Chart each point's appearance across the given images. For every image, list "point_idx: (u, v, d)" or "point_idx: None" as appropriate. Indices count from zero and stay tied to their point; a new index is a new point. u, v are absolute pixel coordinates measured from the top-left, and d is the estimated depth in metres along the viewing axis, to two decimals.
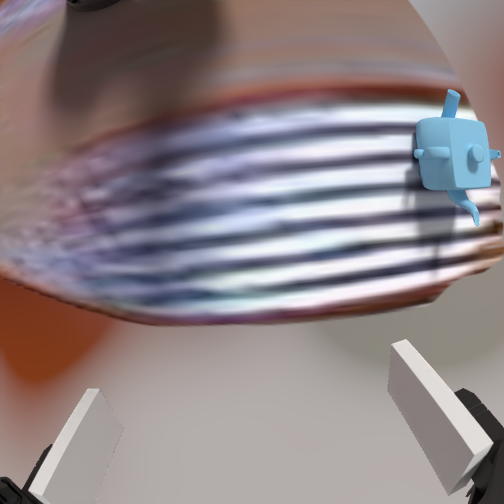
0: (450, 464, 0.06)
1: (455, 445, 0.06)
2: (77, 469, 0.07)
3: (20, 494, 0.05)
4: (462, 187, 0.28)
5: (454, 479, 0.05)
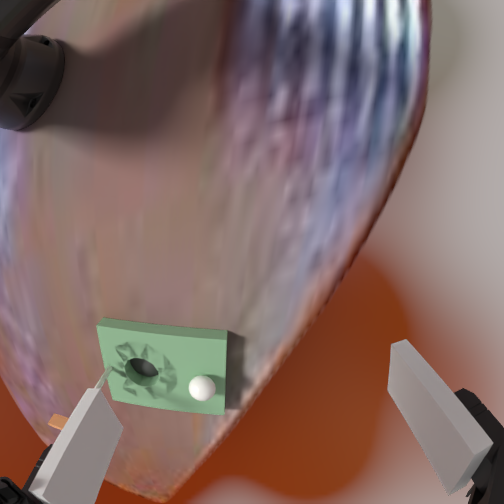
0: (450, 464, 0.06)
1: (455, 445, 0.06)
2: (77, 469, 0.07)
3: (20, 494, 0.05)
4: None
5: (454, 479, 0.05)
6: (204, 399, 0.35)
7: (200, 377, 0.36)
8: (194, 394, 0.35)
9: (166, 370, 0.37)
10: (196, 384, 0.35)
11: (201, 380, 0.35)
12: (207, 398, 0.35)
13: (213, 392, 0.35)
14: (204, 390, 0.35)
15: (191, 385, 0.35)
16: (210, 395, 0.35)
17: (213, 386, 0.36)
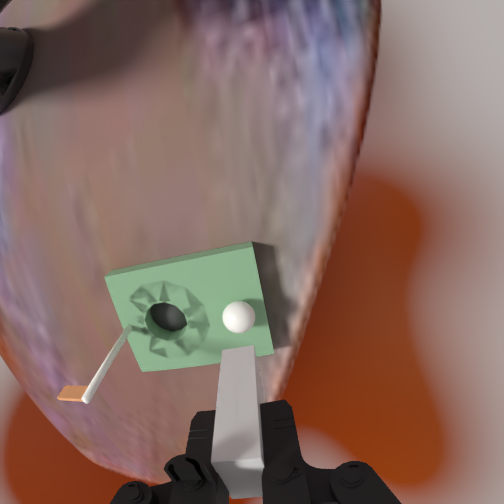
0: None
1: None
2: None
3: (204, 476, 0.07)
4: None
5: (247, 481, 0.08)
6: (244, 328, 0.31)
7: (233, 302, 0.32)
8: (230, 324, 0.31)
9: (193, 309, 0.34)
10: (230, 310, 0.31)
11: (234, 305, 0.31)
12: (247, 326, 0.31)
13: (253, 317, 0.31)
14: (241, 315, 0.30)
15: (224, 314, 0.31)
16: (250, 321, 0.31)
17: (251, 309, 0.32)
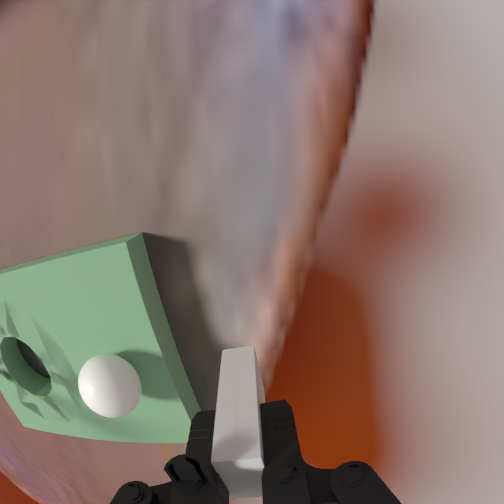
0: None
1: None
2: None
3: (204, 476, 0.07)
4: None
5: (247, 481, 0.08)
6: (111, 413, 0.12)
7: (94, 357, 0.13)
8: (86, 401, 0.12)
9: (51, 355, 0.15)
10: (83, 376, 0.12)
11: (92, 364, 0.12)
12: (117, 410, 0.12)
13: (129, 393, 0.13)
14: (99, 389, 0.12)
15: (78, 380, 0.12)
16: (121, 402, 0.12)
17: (125, 377, 0.13)
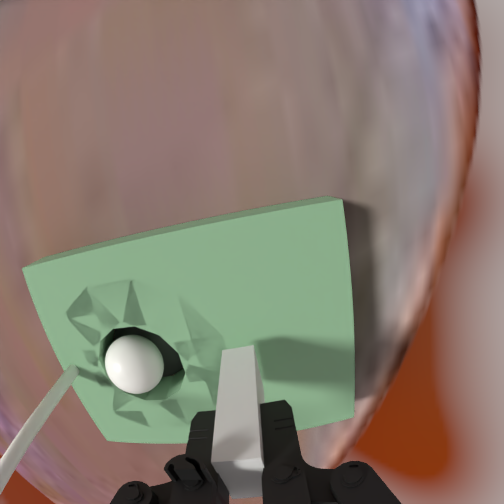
0: None
1: None
2: None
3: (204, 476, 0.07)
4: None
5: (247, 481, 0.08)
6: (151, 382, 0.15)
7: (120, 339, 0.15)
8: (126, 379, 0.14)
9: (197, 344, 0.15)
10: (120, 354, 0.14)
11: (124, 342, 0.15)
12: (156, 377, 0.15)
13: (161, 359, 0.16)
14: (142, 359, 0.14)
15: (110, 363, 0.14)
16: (159, 367, 0.15)
17: (154, 346, 0.16)
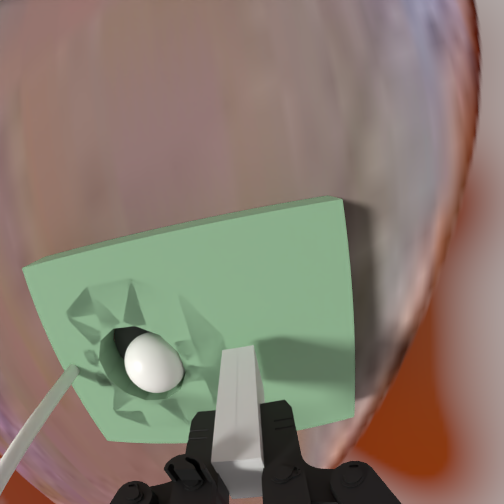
0: None
1: None
2: None
3: (204, 476, 0.07)
4: None
5: (247, 481, 0.08)
6: None
7: (140, 338, 0.15)
8: (171, 370, 0.14)
9: (198, 343, 0.15)
10: (157, 347, 0.14)
11: (151, 337, 0.15)
12: None
13: None
14: None
15: (149, 361, 0.14)
16: None
17: None
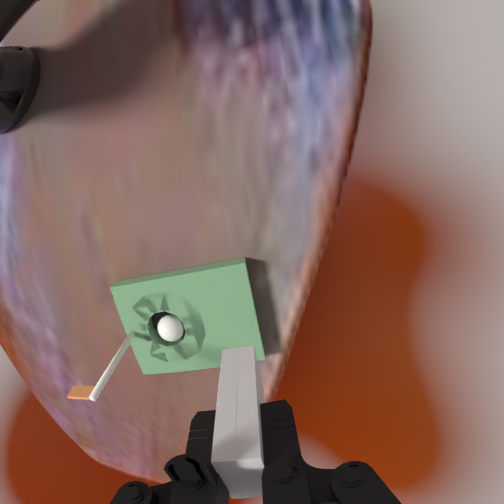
0: None
1: None
2: None
3: (204, 476, 0.07)
4: None
5: (247, 481, 0.08)
6: (183, 331, 0.38)
7: (165, 317, 0.37)
8: (176, 330, 0.36)
9: (190, 318, 0.37)
10: (171, 320, 0.36)
11: (169, 316, 0.37)
12: None
13: None
14: (179, 320, 0.37)
15: (167, 326, 0.36)
16: None
17: None
